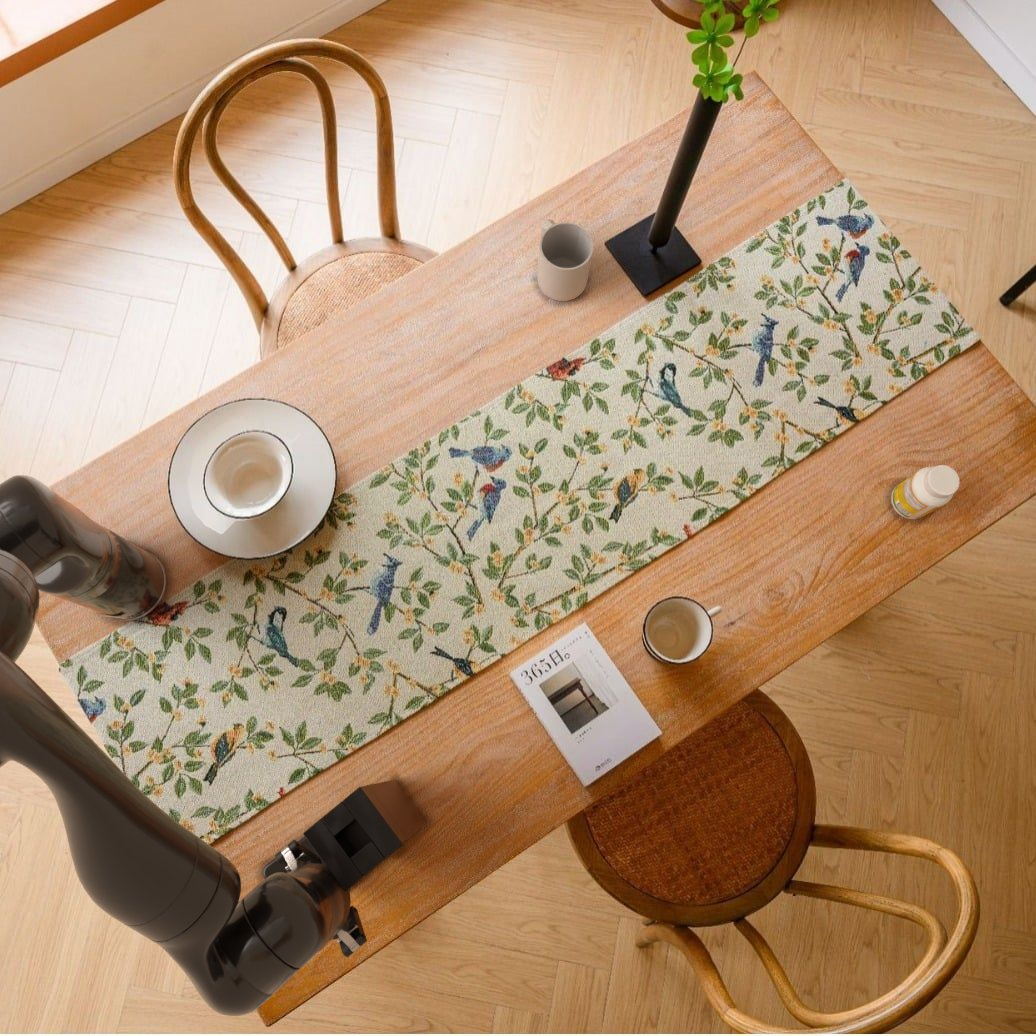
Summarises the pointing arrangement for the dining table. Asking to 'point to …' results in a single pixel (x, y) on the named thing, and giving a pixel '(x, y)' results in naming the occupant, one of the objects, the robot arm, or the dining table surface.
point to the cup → (563, 259)
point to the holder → (364, 830)
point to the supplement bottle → (925, 491)
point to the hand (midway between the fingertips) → (335, 886)
